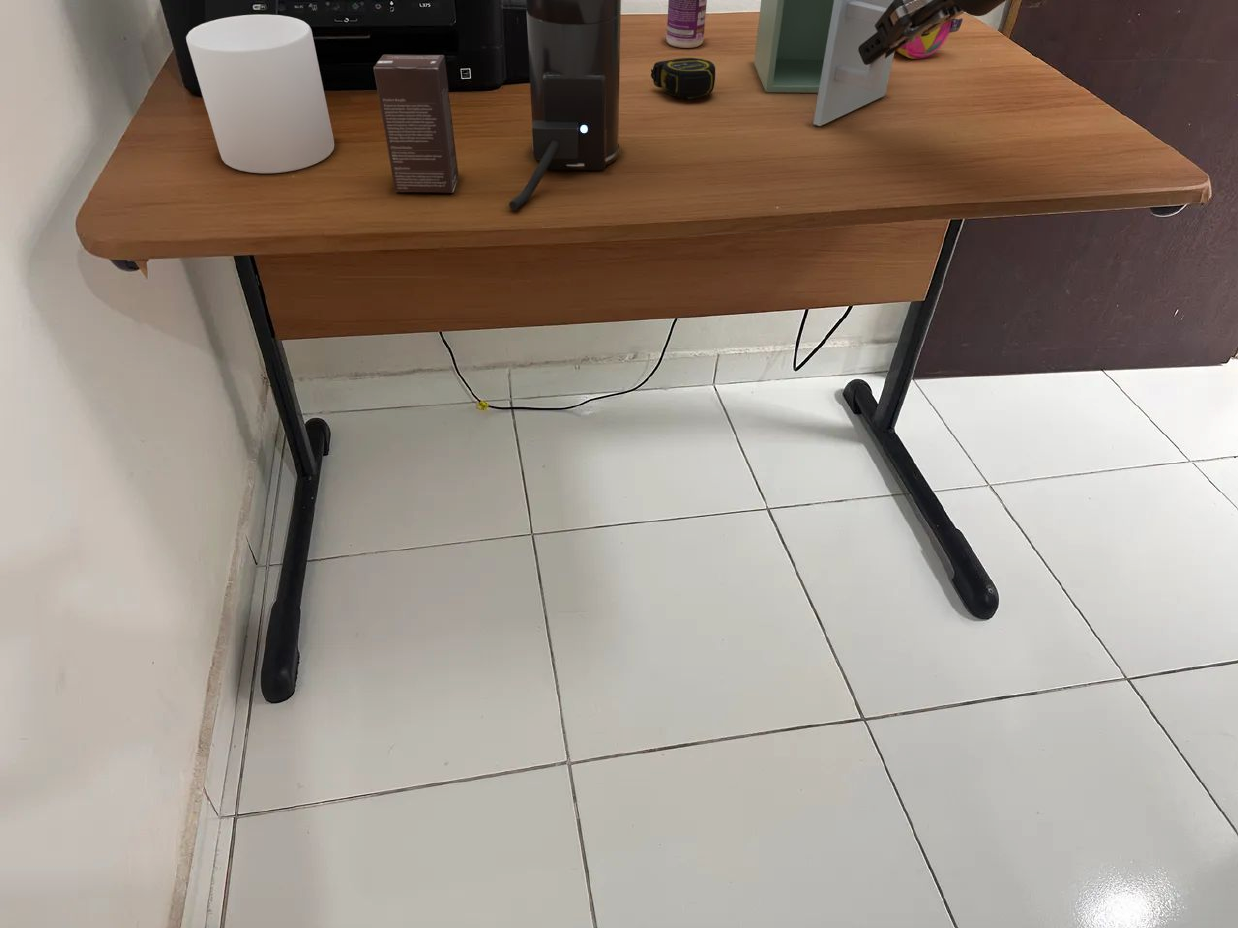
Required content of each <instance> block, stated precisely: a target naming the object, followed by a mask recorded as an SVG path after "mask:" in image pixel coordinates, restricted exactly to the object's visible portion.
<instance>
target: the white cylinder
mask: <svg viewBox="0 0 1238 928" xmlns="http://www.w3.org/2000/svg"><path fill="white" fill-rule="evenodd" d="M185 40H186V44H187V48H188V51H189V54H190V58H191V61H192V65H193V68H194V72H195V75H196V77H197V81H198V85H199V88H200V92H201V96H202V98H203V103H204V105H205V108H206V111H207V115H208V118H209V122H210V125H211V128H212V132H213V136H214V139H215V142H216V145H217V149H218V152H219V155H220V158H221V161H223V163H224V164H225V165H227V166H228V167H230V168H231V169H234V170H237V171H240V172H245V173H251V174H280V173H282V174H283V173H288V172H294V171H299V170H302V169H306V168H309V167H312V166H314V165H317V164H318V163H320V162H322V161H324V160H325V159H327V158H328V157H329V156H331V154H332V153H333V152H334V149H335V139H334V134H333V129H332V125H331V119H330V115H329V110H328V103H327V99H326V95H325V90H324V85H323V80H322V75H321V71H320V65H319V61H318V56H317V51H316V46H315V41H314V36H313V31H312V28H311V26H310V25H309V24H308V23H307V22H305V21H304V20H301V19H300V18H296V17H292V16H287V15H280V14H245V15H235V16H228V17H223V18H222V17H221V18H218V19H214V20H210V21H207V22H204V23H201V24H199V25H197V26H195V27H193V28H192V29H190V30H189V31H188V33H187V34H186V36H185Z"/></svg>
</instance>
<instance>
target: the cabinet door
mask: <svg viewBox="0 0 1238 928" xmlns="http://www.w3.org/2000/svg"><path fill="white" fill-rule="evenodd" d="M893 1H894V0H834V4H833V10H832V16H831V22H830V28H829V34H828V40H827V45H826V51H825V57H824V63H823V69H822V75H821V81H820V87H819V92H818V93H817V99H816V105H815V110H814V116H813V122H812V124H813V126H818V127H822V126H823V125H826V124H829V123H830V122H832V121H834V120H837V119H839V118H841V117H843V116H845V115H847V114H849V113H851V112H853V111H855V110H857V109H858V110H859V108H862V107H864V106H866V105H869V104H871V103H873V102H875V101H876V100H879V99H882V98H883V97H885V96H886V93H887V88H888V83H889V79H890V74H891V70H892V65H893V61H894V56H895V52H894V53H892V54H891V55H889V56H888V57H887V58H885V55H886V53H885V54H884V55H883V56H881V57H880V58H879V59H877V60H876V61H875V62H873V63H872V64H868V65H865V64H864V63H863V61H862V58H861V56H860V54H859V51H858V48H859V46H860V45H861V44H862V43H864V42H865V41H866V40H868V39H869V38H870V37H871V36H873V35H874V34H875V33H876V32H878V31H877V30H876V28H875V24H876V23H877V22H878V20H879V19H880V18H881V16H882V15H883V14H884V12H885V11H886V10H887V8H888V7H889V6H890V4H891V3H892V2H893ZM904 1H905V0H903V2H904Z"/></svg>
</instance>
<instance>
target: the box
mask: <svg viewBox="0 0 1238 928" xmlns="http://www.w3.org/2000/svg"><path fill="white" fill-rule="evenodd" d="M373 73H374V78H375V85H376V89H377V90H376V91H377V96H378V101H379V107H380V113H381V118H382V125H383V129H384V135H385V140H386V141H385V142H386V147H387V152H388V159H389V164H390V170H391V177H392V183H393V189H394V191H395V193H445V194H453V193H454V192H455V189H456V186H457V183H458V180H459V177H460V176H459V175H460V174H459V168H458V167H459V166H458V159H457V150H456V142H455V135H454V123H453V116H452V115H453V114H452V107H451V100H450V92H449V82H448V75H447V65H446V58H445V55H444V54H383V55H381V57H380V58H379V59H378V61H377V62H376V64H375V65H374V66H373Z"/></svg>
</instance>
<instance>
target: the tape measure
mask: <svg viewBox="0 0 1238 928" xmlns="http://www.w3.org/2000/svg"><path fill="white" fill-rule="evenodd" d="M650 78H651V79H652V81H653V84H654V85H653V86H655V87H656V88H659V89H660V88H661V89H662V90H663V91H664V93H666V94H667V95H670V96H673V97H677V98H687V99H688V100H691V99H697V98H701V97H703V96H707V95H709V94H711V93H712V92H713V90H714V89H715V84H716V66H715V64H714V63H713V62H712V61H710V60H707V59H703V58H696V57H681V58H673V59H668V60H661V61H660V60H659V61H657V62H655V63H654V64H653V67H652V68H650Z"/></svg>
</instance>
